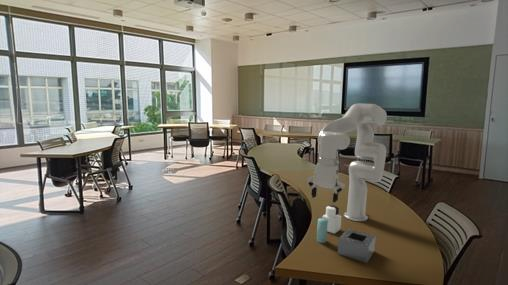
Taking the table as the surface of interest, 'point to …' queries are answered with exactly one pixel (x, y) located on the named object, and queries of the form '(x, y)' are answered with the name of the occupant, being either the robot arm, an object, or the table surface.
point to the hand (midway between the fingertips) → (324, 199)
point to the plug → (322, 230)
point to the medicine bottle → (332, 219)
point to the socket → (356, 245)
